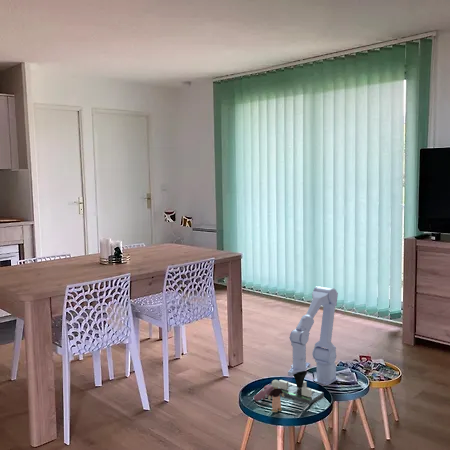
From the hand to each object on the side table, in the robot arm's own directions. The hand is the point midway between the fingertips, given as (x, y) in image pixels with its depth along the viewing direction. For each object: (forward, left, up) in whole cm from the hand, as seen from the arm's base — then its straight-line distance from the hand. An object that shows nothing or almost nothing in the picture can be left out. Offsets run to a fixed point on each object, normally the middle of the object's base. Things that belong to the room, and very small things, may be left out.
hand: (299, 387), depth 223 cm
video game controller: (+13, -9, -3) cm, 16 cm away
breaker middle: (-2, 0, -1) cm, 2 cm away
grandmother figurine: (+20, +2, -3) cm, 20 cm away
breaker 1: (+3, -6, -1) cm, 7 cm away
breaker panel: (+1, 0, -3) cm, 3 cm away
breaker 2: (+3, +6, -1) cm, 7 cm away
